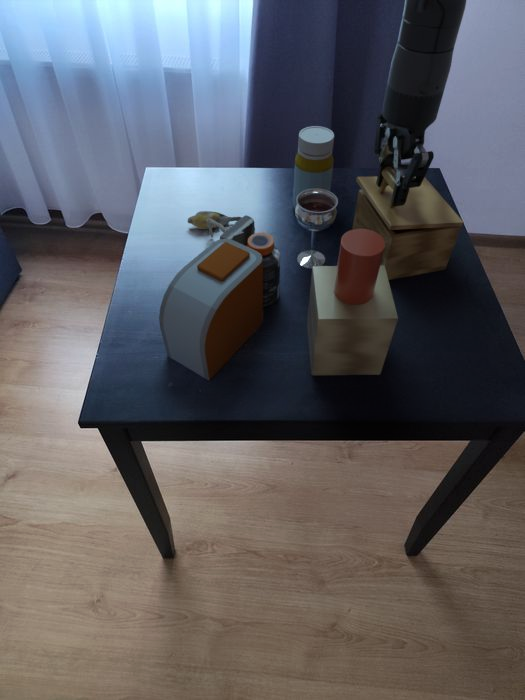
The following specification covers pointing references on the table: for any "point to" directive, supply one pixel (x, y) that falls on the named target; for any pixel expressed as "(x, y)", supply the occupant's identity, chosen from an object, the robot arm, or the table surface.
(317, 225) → the wineglass
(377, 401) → the table surface
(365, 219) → the box
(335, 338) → the block
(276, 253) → the pill bottle
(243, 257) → the alarm clock
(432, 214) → the lid
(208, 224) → the decorative sculpture
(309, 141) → the bottle
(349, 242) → the spice tin
